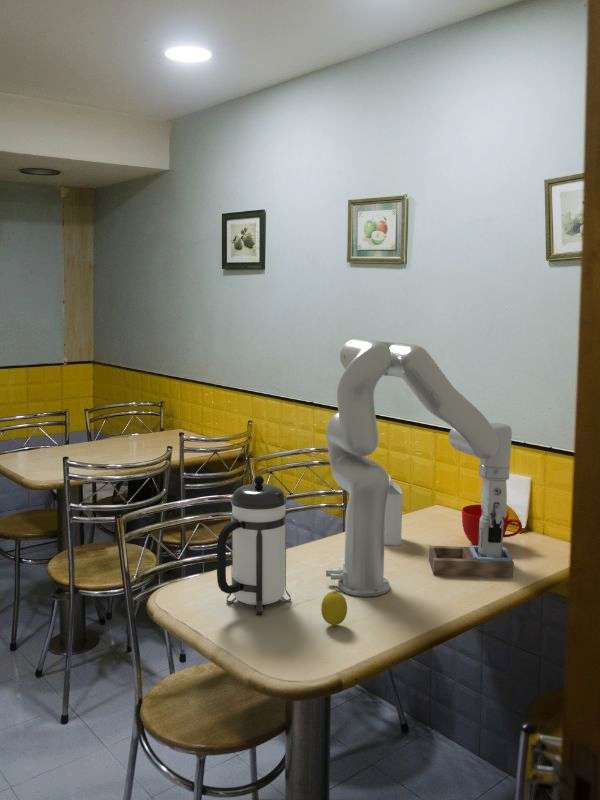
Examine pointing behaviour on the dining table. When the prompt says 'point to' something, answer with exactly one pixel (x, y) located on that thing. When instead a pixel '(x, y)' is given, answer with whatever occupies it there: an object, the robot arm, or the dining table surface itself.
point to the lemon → (334, 608)
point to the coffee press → (255, 545)
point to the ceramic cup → (472, 521)
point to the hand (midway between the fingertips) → (490, 536)
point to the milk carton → (393, 515)
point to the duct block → (469, 562)
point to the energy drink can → (484, 546)
